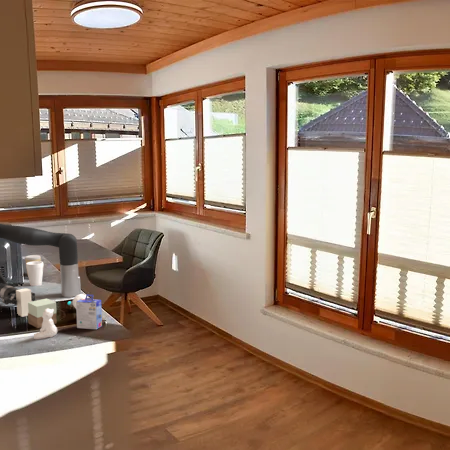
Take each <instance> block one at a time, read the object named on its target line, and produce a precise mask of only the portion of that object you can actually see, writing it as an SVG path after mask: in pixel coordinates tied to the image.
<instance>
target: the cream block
mask: <svg viewBox="0 0 450 450" xmlns="http://www.w3.org/2000/svg"><path fill="white" fill-rule="evenodd" d="M18 289H19V288H18ZM31 292H32V289H30V288H27V287H26V288H21V289H19V290H16V300H17V305H16V312H17V313H16V314H18V316H20V317H28V313H29V312H28V302H32V301H31Z"/></svg>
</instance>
